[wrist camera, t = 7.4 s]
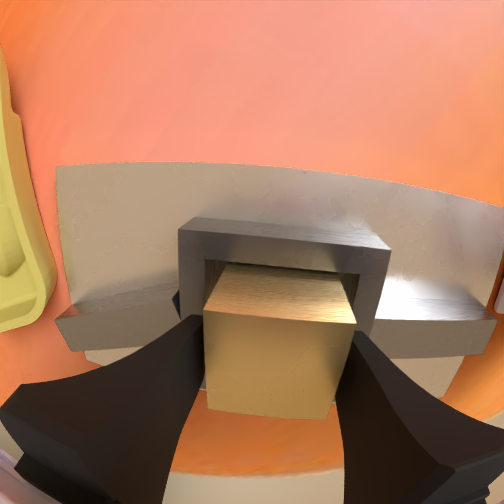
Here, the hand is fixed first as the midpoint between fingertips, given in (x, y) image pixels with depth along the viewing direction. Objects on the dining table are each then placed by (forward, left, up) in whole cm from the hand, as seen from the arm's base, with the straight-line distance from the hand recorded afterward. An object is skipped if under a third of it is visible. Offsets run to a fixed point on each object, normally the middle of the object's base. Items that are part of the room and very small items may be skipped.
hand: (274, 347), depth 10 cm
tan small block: (0, 0, -3) cm, 3 cm away
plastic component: (+19, -6, -4) cm, 21 cm away
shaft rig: (0, 0, -4) cm, 4 cm away
